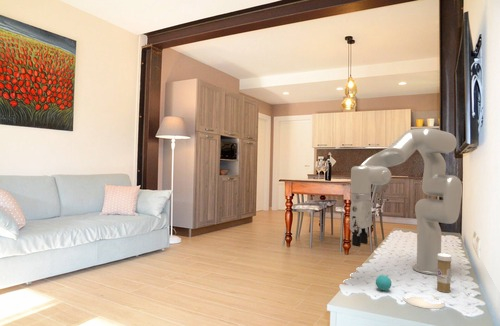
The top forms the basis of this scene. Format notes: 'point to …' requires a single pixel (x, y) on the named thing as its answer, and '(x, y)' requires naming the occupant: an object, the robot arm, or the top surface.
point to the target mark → (423, 303)
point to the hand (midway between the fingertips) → (359, 244)
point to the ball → (383, 282)
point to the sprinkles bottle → (444, 272)
